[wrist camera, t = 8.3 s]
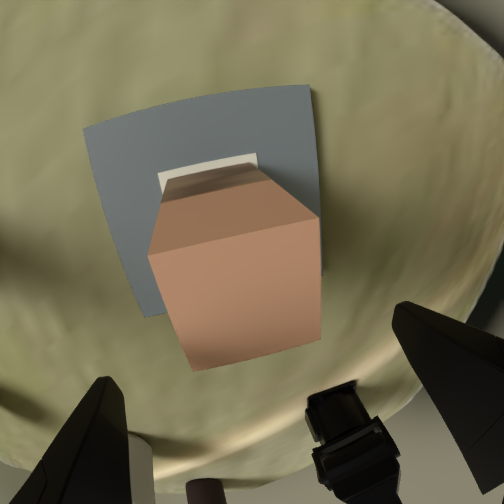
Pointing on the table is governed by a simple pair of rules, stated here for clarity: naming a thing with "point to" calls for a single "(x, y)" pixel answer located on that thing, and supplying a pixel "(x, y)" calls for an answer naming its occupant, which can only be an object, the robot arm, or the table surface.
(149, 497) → the can
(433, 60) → the table surface
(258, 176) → the walnut base block
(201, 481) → the wine bottle
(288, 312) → the terracotta block
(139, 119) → the grey square plate
